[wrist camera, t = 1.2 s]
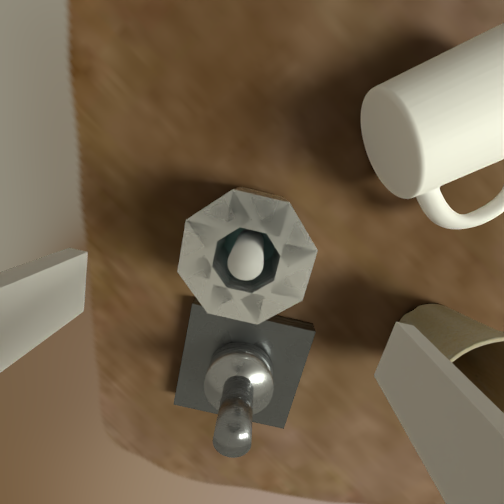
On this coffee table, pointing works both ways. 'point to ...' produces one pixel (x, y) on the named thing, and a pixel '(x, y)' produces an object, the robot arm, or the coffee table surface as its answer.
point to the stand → (247, 252)
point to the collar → (216, 255)
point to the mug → (440, 126)
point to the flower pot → (465, 346)
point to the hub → (241, 373)
